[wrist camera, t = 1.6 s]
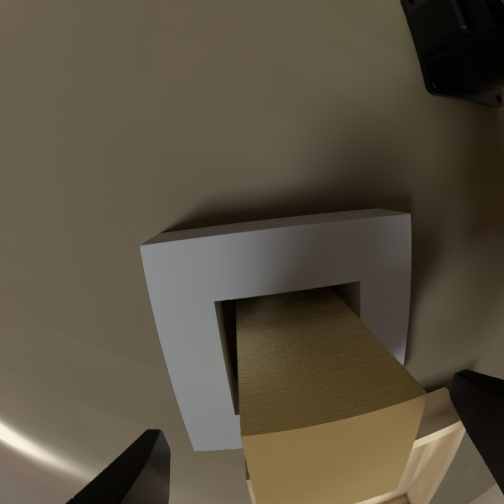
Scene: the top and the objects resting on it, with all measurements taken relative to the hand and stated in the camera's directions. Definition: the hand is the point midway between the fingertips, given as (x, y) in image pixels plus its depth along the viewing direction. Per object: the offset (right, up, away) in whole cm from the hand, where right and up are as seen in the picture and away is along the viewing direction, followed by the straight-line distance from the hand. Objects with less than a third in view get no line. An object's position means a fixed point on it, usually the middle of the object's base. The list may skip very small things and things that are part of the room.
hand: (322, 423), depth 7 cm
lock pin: (0, +1, +7) cm, 7 cm away
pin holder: (0, +1, +7) cm, 7 cm away
